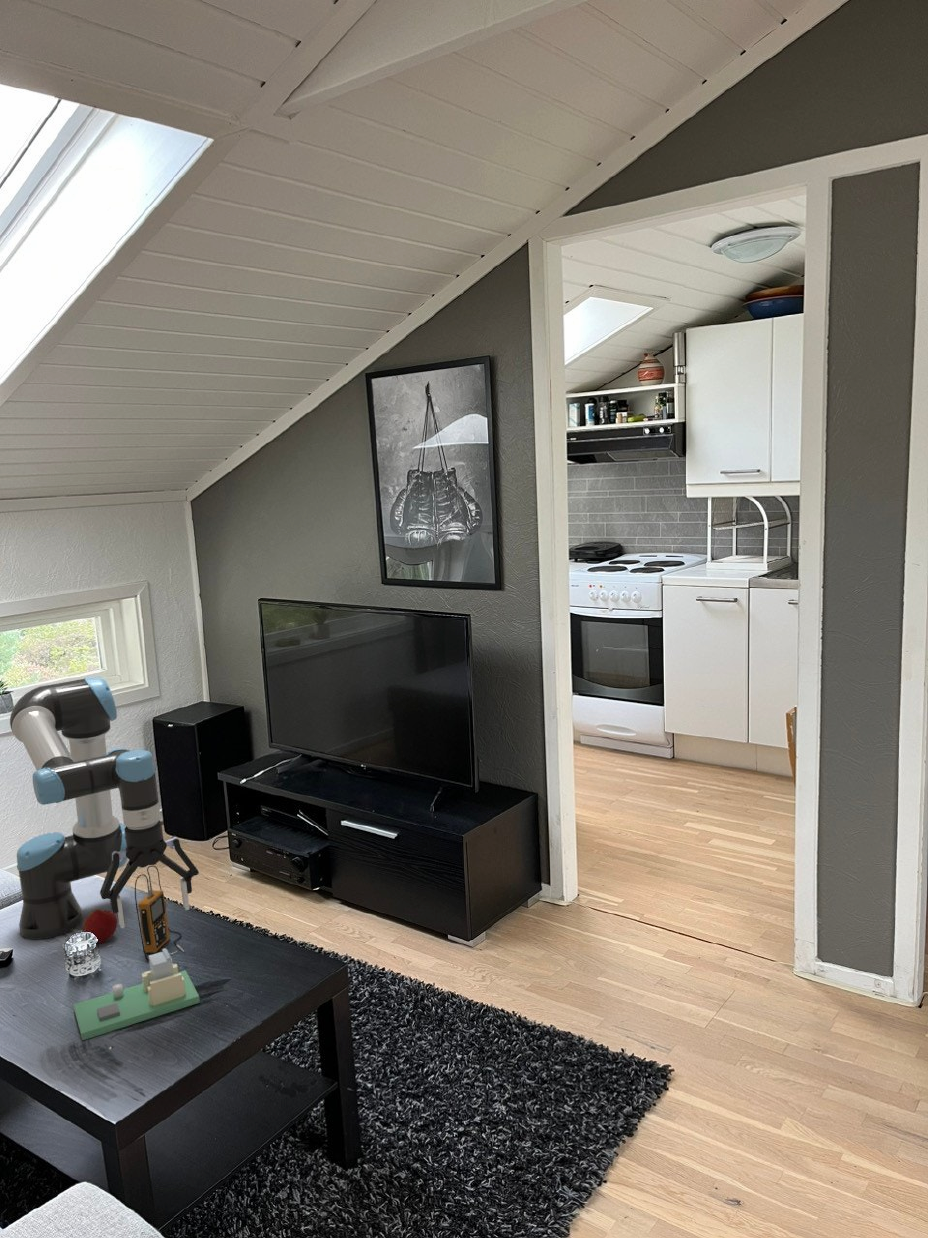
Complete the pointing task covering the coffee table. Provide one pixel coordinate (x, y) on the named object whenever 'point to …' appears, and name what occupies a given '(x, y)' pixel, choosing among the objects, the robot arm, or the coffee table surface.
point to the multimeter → (153, 919)
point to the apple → (101, 924)
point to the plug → (161, 965)
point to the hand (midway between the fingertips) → (154, 916)
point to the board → (135, 1003)
